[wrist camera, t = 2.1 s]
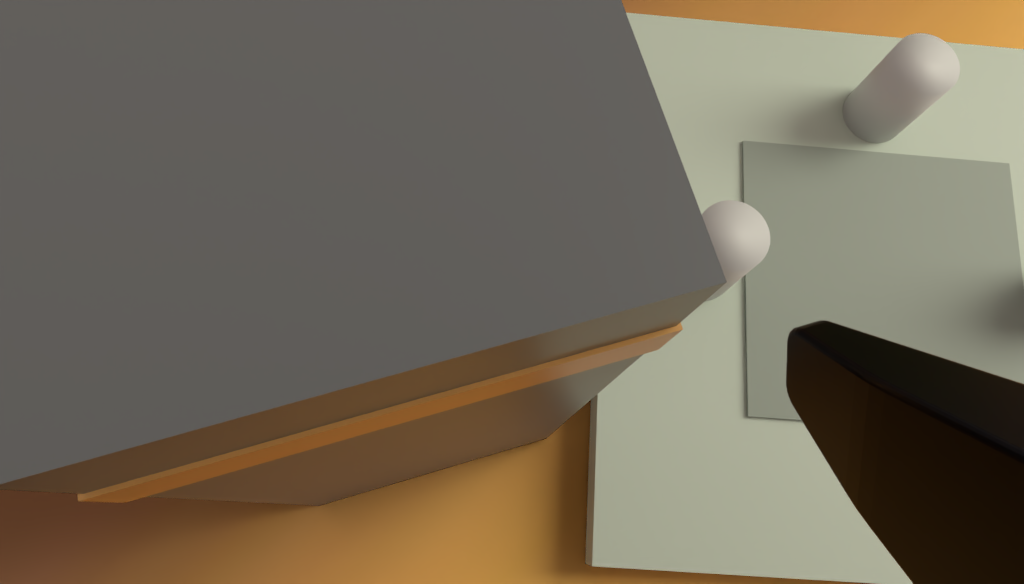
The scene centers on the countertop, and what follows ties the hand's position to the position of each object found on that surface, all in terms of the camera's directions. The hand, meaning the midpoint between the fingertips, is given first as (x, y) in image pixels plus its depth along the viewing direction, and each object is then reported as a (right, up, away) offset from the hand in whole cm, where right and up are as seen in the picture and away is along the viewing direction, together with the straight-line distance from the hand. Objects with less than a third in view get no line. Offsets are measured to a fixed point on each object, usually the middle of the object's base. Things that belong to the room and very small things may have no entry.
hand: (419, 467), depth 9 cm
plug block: (-2, 0, +11) cm, 11 cm away
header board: (+10, +2, +12) cm, 16 cm away
